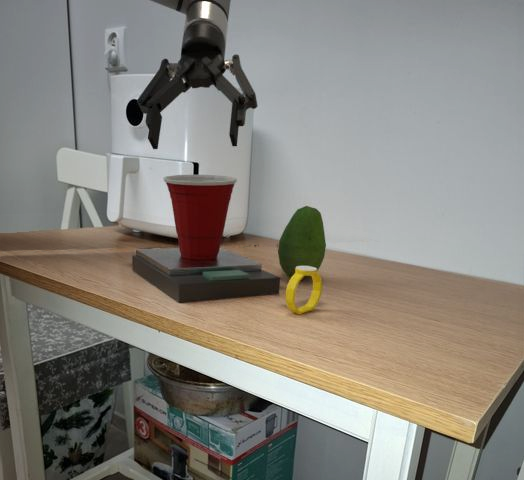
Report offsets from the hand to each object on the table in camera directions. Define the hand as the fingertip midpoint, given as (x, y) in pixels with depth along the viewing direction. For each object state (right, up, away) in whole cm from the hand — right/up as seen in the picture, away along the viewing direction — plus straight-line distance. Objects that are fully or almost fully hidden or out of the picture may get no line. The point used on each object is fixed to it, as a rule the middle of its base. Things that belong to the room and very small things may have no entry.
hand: (192, 142), depth 80 cm
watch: (+17, -29, -15) cm, 37 cm away
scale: (+2, -23, -4) cm, 24 cm away
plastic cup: (+1, -20, -4) cm, 20 cm away
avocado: (+18, -22, +3) cm, 28 cm away
